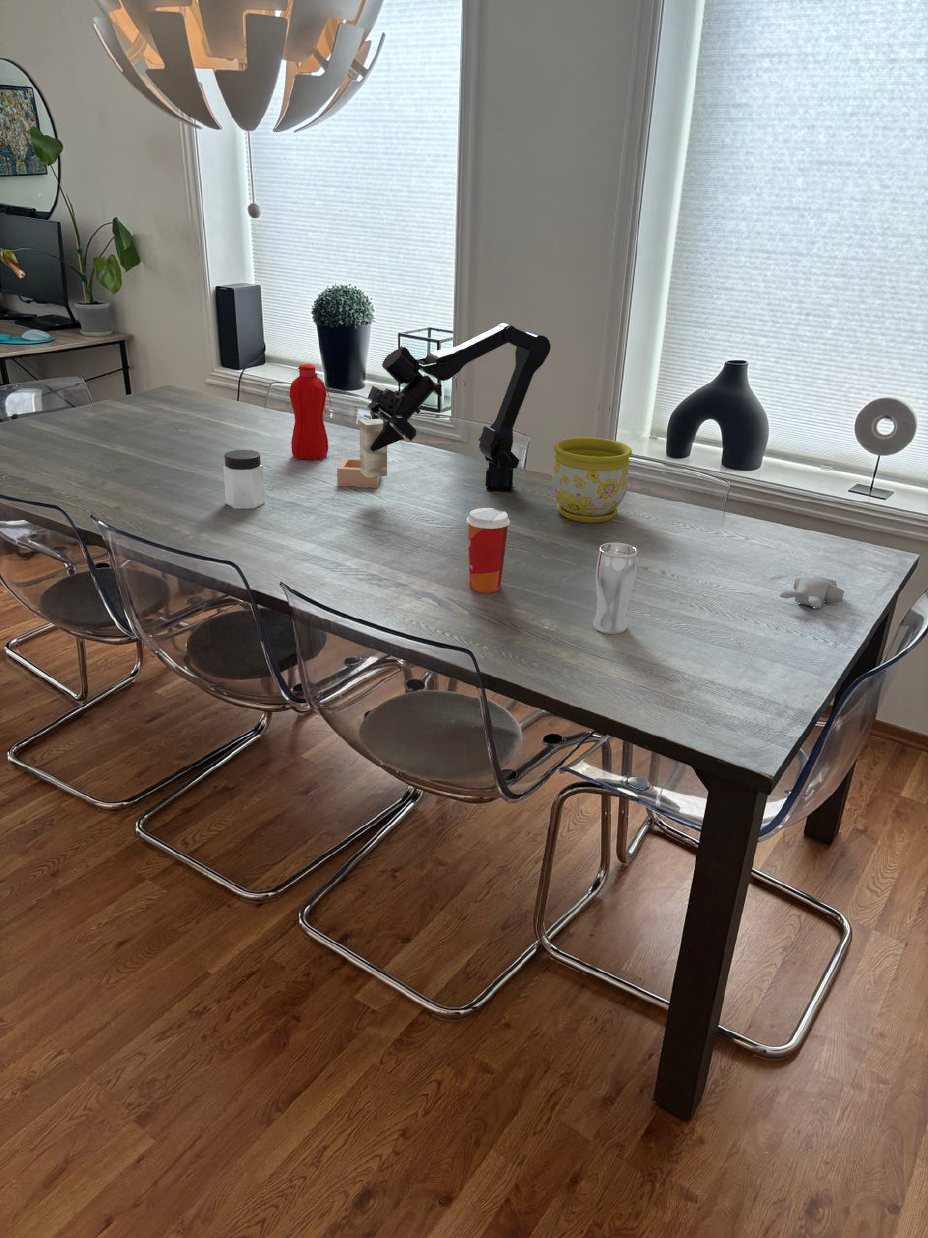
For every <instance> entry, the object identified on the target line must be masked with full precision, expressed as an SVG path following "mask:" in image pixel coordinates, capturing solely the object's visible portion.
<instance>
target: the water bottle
mask: <svg viewBox="0 0 928 1238" xmlns="http://www.w3.org/2000/svg"><path fill="white" fill-rule="evenodd" d="M297 370H298V373H299V375H298V376H297V377H296V378H295V379H293V380H292V381H291V384H290V385H289V386H290V387H289V392H288V393H289V400H290V403H291V408H292V410H293V411H292V412H293V415H294V425H293V429H292V436H291V442H290V443H291V444H290V445H291V447H290V448H291V454H292V457H294V458H295V459H298V460H309V461H320V460H322V459H324V458H325V456H327V455H328V452H329V439H328V434H327V431H326V426H325V422H324V413H325V414H326V415H327V416H330V415H331V414H332V412H330V413H329V414H328V413H327V412H326V410H325V408H326V399H327V396H328V399H329V404H330V406H332V403H331V398H330V394H329V391H328V389H327V387H326V383H325V382H324V381H323V380H322V379H321V377H319V376H318V373H317V372H316V366H315V365H314V364H312V363H303V364H299V365H298V367H297Z"/></svg>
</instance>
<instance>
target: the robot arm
mask: <svg viewBox="0 0 928 1238" xmlns="http://www.w3.org/2000/svg"><path fill="white" fill-rule="evenodd" d="M506 344H510V345H512V346H514V347H516V348H515V351H514V353H515V359H514V360H515V367H514V370H513V373H512V374H511V378H510V380H509V384H508V386H507V388H506V391H505V393H504V397H503V398H502V402H501V405H500V407H499V410H498V412H497V414H496V418H495V420H494V422H493V423H492V424H491V425H490V426H487V425H484V426H483V428H482V433H481V436H480V437H479V438H478V441H479V444H478V445H479V450H480V452H481V454H482V455H483V456H484V458H485V461H486V462H488V467H487V468H486V470H485V487H487V488H486V491H488V492H489V491H490V492H508V493H510V492H511V493H512V492H514V491H513V490H514V487H513V486H514V483H513V482H514V481H513V480H514V469H517V468H518V465H519V463H520V459H519V458H518V457H517V456H516V455H515V454H514V453H513V452H512V449H513V444H514V427H515V424H516V420H517V418H518V417H519V414H520V411H521V407H522V406H523V403H524V400H525V399H526V395H527V393H528V390H529V387H530V385H531V382H532V379H533V377H534V375H535V373H536V372H537V371H538V370H539V369H540V368H541V367H542V366H543V365H544V363H545V361H546V359H547V357H548V356H549V354H550V352H551V350H552V348H551V346H552V345H551V342H550V340H549V339H548V337H547V336H545V335H542V334H540V333H536V332H533V331H524V330H521V329H518V328H516V327H515V326H514V325H512V324H509V323H505V322H502V323H500V324H498V325H496V326H495V327H493V328H491V329H490V330H488V331H485V332H483V333H481V334H479V335H477V336H474V337H473V338H471V339H469V340H467V341H466V342H462V343H461V344H459V345H458V346H453V347H449V348H447V347H446V348H442V349H439V350H435V351H432V352H430V353H428V354H427V355H426V356H425V357H421V358H415V357H414V356H413V355H412V354H411V353H410V350H409V349H408V348H407V347H406V346H403V345H401V346H400V347H399V348H396V349H394V350H393V351H392V352H391V353H388V354H387V355H386V357H385V358H384V359H383V361H382V364H381V367H382V368H383V370H385V371H386V372H387V373H388V375H390V376H391V377H392V378H393V380H394V381H396V382H397V383H398V384H399V385H402V384H405V386H404V387H403V388H402V389H401V390H400V391H399V390H398V389H397V390H395V391H393V390H391V389H389V388H387V387H386V388H385V389H382V388H379V387H377V386H375V385H372V386H371V389H370V391H369V394H368V396H367V399H368V400H371V402H370V403H369V404H368V405H367V408H368V409H369V410H370V412H369V413H370V415H371V419H381V420H382V421H383V430H382V431H381V433H380V434H379V436H378V437H377V439H376V440H375V441H374V443H373V444H372V446H371V448H370V449H371V450H372V451H376V450H378V449H381V448H383V447H385V446H387V447H388V446H389V445H392V444H394V443H397V442H400V441H404V440H405V438H406V439H407V440H408V441H410V442H412V441H413V440H414V439H415V438H416V436H417V429H416V428H415V427H414V426H413V425H412V424H411V423H410V422H409V420H410V419H411V418H412V417H413V416H414V414H418V415H419V414H420V412H421V409H420V407H421V406H422V405H423V404H424V403H425V402H426V400H428V399H429V397H430V396H431V395H432V394H434V395H436V396H438V397H442V396H443V393H442V392H443V391H442V384H441V383H439V382H435V381H434V380H433V379H432V378H434V379H436V380H438V381H441V382H446V381H448V380H450V379H452V378H453V377H454V376H456V375H457V374H458V373H460V372H461V370H462V369H463V368H464V367H465V366H466V365H468V364H469V363H470V362H473V361H475V360H477V359H479V358H481V357H483V356H485V355H486V354H489V353H490V352H492V351H494V350H496V349H499V348H500V347H502V346H504V345H506ZM420 371H421V372H422V373H425V374H427V375H423V374H422V373H421V372H420ZM431 377H432V378H431ZM404 436H405V438H404Z"/></svg>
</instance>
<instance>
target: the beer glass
mask: <svg viewBox="0 0 928 1238" xmlns="http://www.w3.org/2000/svg"><path fill="white" fill-rule="evenodd" d="M595 567H596V568H595V590H596V591H595V592H596V613H595V615H594V619H593V621H592V622H593V623H592V626H593V628H594V629H595V630H596V631H598V632H600V633H603V634H607V635H618V634H622V633H624V632H625V631H627V629H628V626H627V625H628V622H627V611H628V610H627V609H628V605H629V602H630V600H631V596H632V594H633V589H634V587H635V582H636V576H637V570H638V569H637V567H638V549H637V547H634V546H633V545H630V544H627V543H624V542H623V543H622V542H606V543H603V544H601V545H600V546H599V550H598V557H597V560H596V566H595Z"/></svg>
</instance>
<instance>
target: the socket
mask: <svg viewBox="0 0 928 1238" xmlns="http://www.w3.org/2000/svg"><path fill="white" fill-rule="evenodd" d="M382 477H383V476H380V477H370V478H367V477H366V476H365V475H363V474H362V473H361V472H360V457H358V458H357V457H356V458H355V457H343V458H342V459H341V461H340V463H339V465H338V466H337V468H336V479H337V480H336V482H337V487H348V486H357V487H356V488H368V487H376V488H375V489H377V488H378V486H379V484H380V482H381V480H380V479H382ZM379 481H380V482H379Z"/></svg>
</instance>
